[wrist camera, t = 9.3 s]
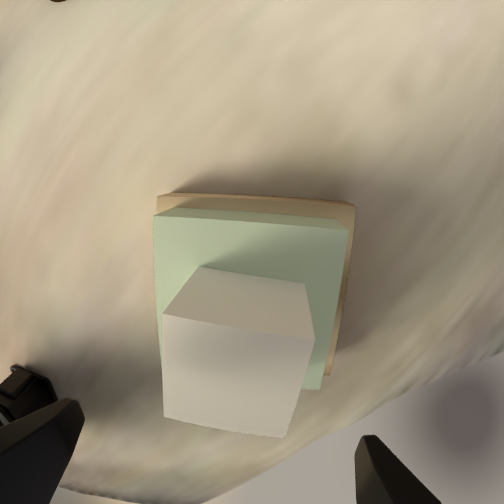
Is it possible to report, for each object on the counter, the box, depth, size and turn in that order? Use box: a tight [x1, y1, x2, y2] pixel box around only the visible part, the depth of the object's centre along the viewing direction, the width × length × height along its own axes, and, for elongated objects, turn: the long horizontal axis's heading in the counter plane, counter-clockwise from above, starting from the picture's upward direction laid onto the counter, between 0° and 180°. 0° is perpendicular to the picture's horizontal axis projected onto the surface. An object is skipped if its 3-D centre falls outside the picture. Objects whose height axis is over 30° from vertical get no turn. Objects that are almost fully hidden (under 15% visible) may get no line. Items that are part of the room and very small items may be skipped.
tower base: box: [157, 193, 356, 375], centre depth 20 cm, size 11×11×3 cm
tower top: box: [153, 207, 348, 390], centre depth 17 cm, size 9×9×3 cm
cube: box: [162, 266, 315, 438], centre depth 13 cm, size 5×5×5 cm
